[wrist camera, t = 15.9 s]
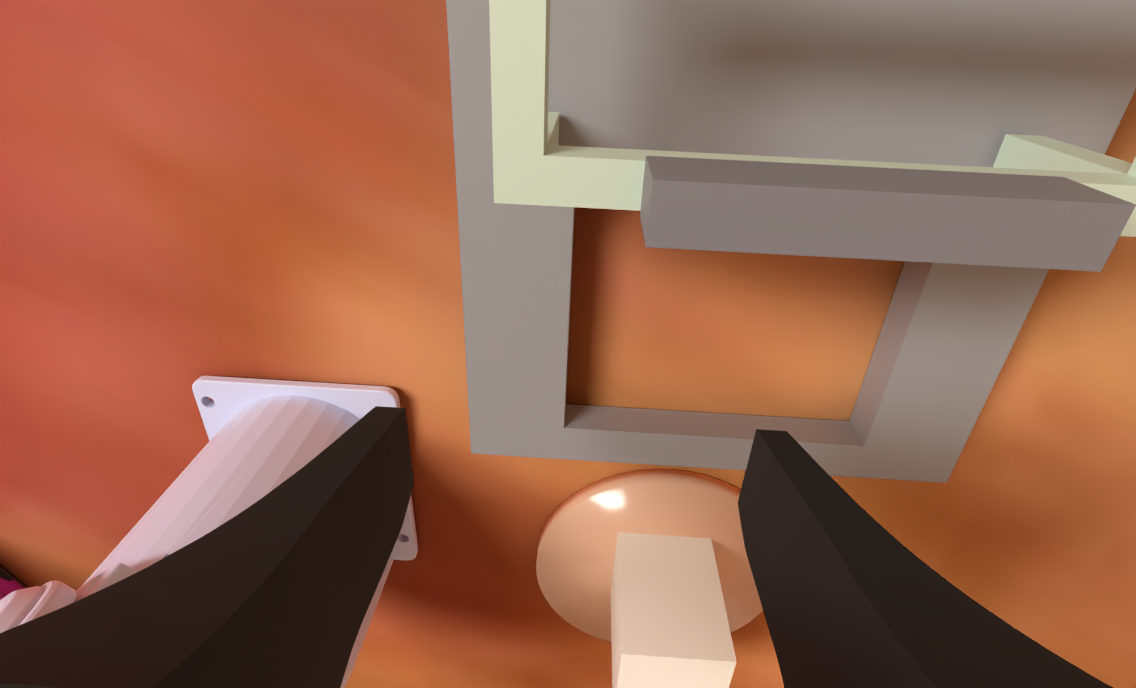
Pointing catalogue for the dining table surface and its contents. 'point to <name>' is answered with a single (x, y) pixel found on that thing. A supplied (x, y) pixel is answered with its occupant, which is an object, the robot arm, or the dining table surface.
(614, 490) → the terracotta dish
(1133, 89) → the puzzle board
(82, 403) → the dining table surface
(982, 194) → the cream slatted rack
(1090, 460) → the dining table surface
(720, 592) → the cream block
